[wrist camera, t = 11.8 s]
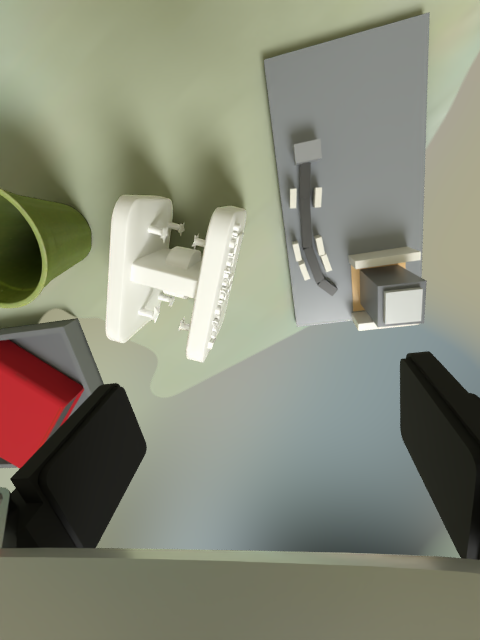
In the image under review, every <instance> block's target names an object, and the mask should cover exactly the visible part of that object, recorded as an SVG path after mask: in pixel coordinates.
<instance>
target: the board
mask: <svg viewBox="0 0 480 640" xmlns="http://www.w3.org/2000/svg"><path fill="white" fill-rule="evenodd" d="M429 13H430V12H429ZM429 13H426V14H422V15H419V16H415V17H412V18H408V19H405V20H401V21H398V22H394V23H391V24H387V25H384V26H380V27H377V28H373V29H370V30H366V31H363V32H359V33H356V34H352V35H349V36H345V37H342V38H338V39H335V40H331V41H328V42H324V43H321V44H317V45H314V46H310V47H307V48H303V49H300V50H296V51H293V52H289V53H286V54H282V55H279V56H275V57H272V58H268V59H265V60H264V66H265V74H266V82H267V90H268V98H269V106H270V114H271V123H272V131H273V139H274V147H275V155H276V163H277V171H278V179H279V187H280V195H281V203H282V211H283V219H284V227H285V235H286V243H287V251H288V259H289V268H290V276H291V284H292V292H293V300H294V308H295V316H296V324H297V327H299V326H308V325H316V324H325V323H334V322H343V321H351V320H353V322H354V324H355V325H356V327H357V329H358V330H359V331H361V330H371V329H380V328H390V327H399V326H409V325H418V324H409V325H398V326H387V327H377V326H376V324H375V323H374V322H373V320H372V319H371V317H370V316H369V315H368V313H367V312H366V311H365V309H364V308H363V307H362V305H361V304H360V270H361V269H369V268H377V267H385V266H393V265H400V266H401V267H403V268H405V269H407V270H408V271H410V272H412V273H414V274H415V275H417V276H419V277H421V276H422V243H423V242H422V240H423V209H424V177H425V144H426V111H427V78H428V46H429Z"/></svg>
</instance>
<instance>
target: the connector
mask: <svg viewBox="0 0 480 640" xmlns="http://www.w3.org/2000/svg"><path fill="white" fill-rule="evenodd" d="M425 296H426V280H424V279H422V278H421V277H419V276H417V275H415V274H414V273H412V272H410V271H408V270H407V269H405V268H403V267H401V266H400V265H393V266H385V267H377V268H369V269H361V270H360V304H361V305H362V307H363V308H364V309H365V311H366V312H367V313H368V315H369V316H370V317H371V319H372V320H373V322H374V323H375V324H376V326H377V327H387V326H398V325H409V324H420V323H424V314H425V298H426V297H425Z"/></svg>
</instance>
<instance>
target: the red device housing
mask: <svg viewBox="0 0 480 640" xmlns="http://www.w3.org/2000/svg"><path fill="white" fill-rule="evenodd" d="M83 391H84V387H83V386H82V385H80V384H79V383H77V382H75V381H74V380H72V379H71V378H69V377H67V376H66V375H64V374H63V373H61V372H59V371H58V370H56V369H55V368H53V367H51V366H50V365H48V364H47V363H45V362H43V361H42V360H40V359H39V358H37V357H35V356H34V355H32V354H31V353H29V352H27V351H26V350H24V349H23V348H21V347H19V346H18V345H16V344H15V343H13V342H11V341H10V340H1V341H0V457H1V458H3V459H4V460H6V461H8V462H9V463H11V464H13V465H15V466H16V467H18V468H21V467H22V466H23V465H24V464H25V463H26V462H27V461H28V460H29V459H30V458H31V457H32V456H33V455H34V454H35V452H36V451H37V450H38V449H39V448H40V447H41V446H42V445H43V444H44V443H45V442H46V441H47V440H48V439H49V438H50V437H51V436H52V435H53V434H54V433H55V432H56V431H57V429H58V428H59V427H60V426H61V425H62V424H63V423H64V422H65V421H66V420H67V419H68V417H69V415H70V414H71V412H72V410H73V408H74V407H75V405H76V403H77V401H78V400H79V398H80V396H81V394H82V393H83Z"/></svg>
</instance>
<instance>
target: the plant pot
mask: <svg viewBox="0 0 480 640" xmlns="http://www.w3.org/2000/svg"><path fill="white" fill-rule="evenodd" d="M90 249H91V231H90V228H89V226H88V224H87V222H86V220H85V219H84V217H83V216H82V215H81V214H80V213H79V212H78V211H77V210H75V209H74V208H72V207H70V206H68V205H65V204H61V203H57V202H51V201H46V200H41V199H36V198H31V197H26V196H21V195H16V194H13V193H11V192H8V191H5V190H2V189H1V188H0V308H18V307H21V306H24V305H27V304H28V303H30V302H32V301H33V300H34V299H35V298H36V297H37V296H38V295H39V294H40V293H41V291H42V289H43V288H44V287H45V286H46V285H47V284H48V283H49V282H50V281H51V280H52V279H54V278H55V277H57V276H58V275H60V274H61V273H63V272H64V271H66V270H67V269H69V268H70V267H72V266H74V265H75V264H77V263H78V262H80V261H81V260H83V259H84V258H85V257H86V256H87V255H88V253H89V252H90Z"/></svg>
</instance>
